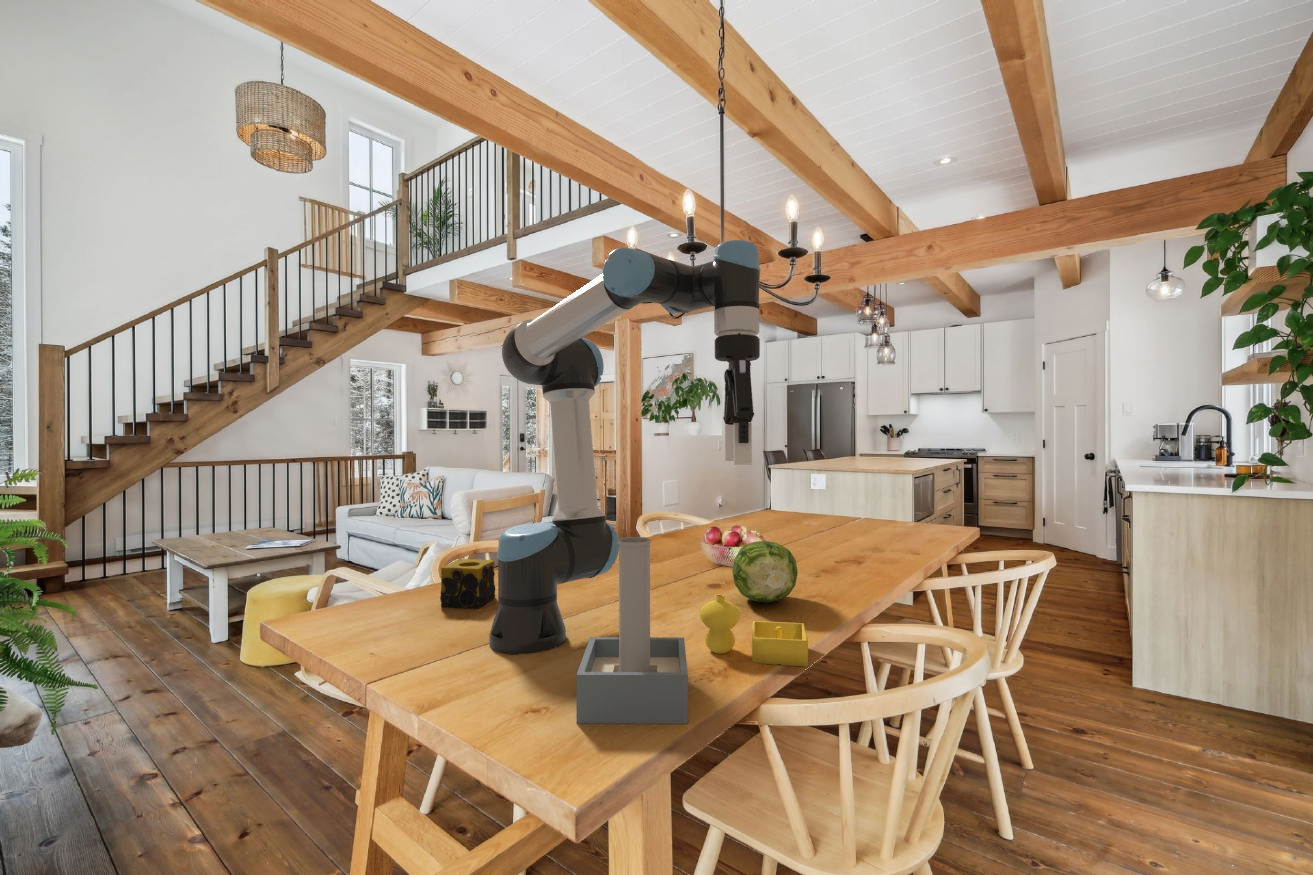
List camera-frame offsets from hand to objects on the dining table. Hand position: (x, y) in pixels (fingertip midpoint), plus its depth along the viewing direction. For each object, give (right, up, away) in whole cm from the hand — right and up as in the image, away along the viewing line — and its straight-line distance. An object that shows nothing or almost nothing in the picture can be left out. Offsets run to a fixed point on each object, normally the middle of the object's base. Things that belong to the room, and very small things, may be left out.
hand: (737, 462), depth 100 cm
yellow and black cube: (-60, -37, +48) cm, 85 cm away
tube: (-17, -37, -7) cm, 41 cm away
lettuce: (+13, -37, +45) cm, 60 cm away
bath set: (+5, -37, +13) cm, 40 cm away
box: (-17, -37, -7) cm, 41 cm away
